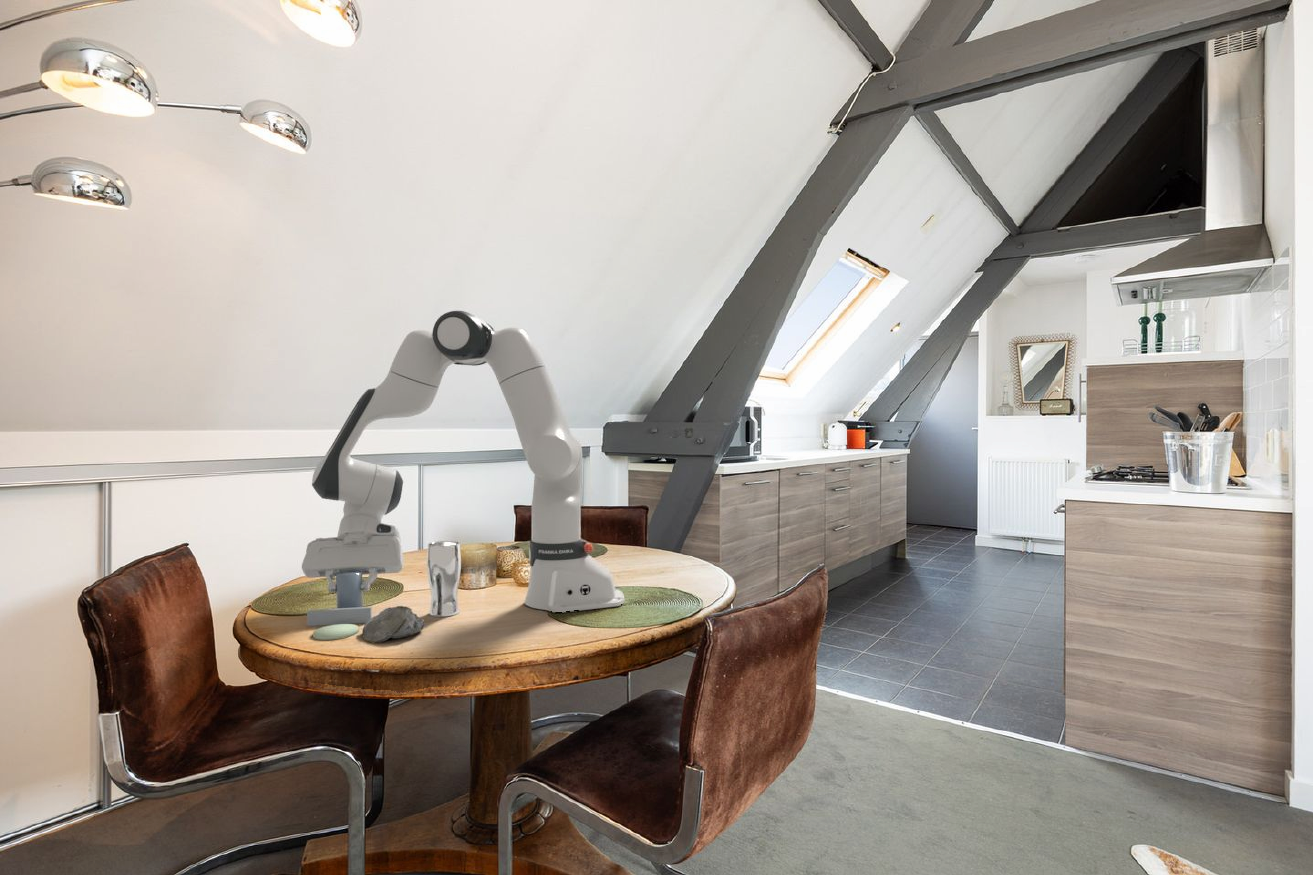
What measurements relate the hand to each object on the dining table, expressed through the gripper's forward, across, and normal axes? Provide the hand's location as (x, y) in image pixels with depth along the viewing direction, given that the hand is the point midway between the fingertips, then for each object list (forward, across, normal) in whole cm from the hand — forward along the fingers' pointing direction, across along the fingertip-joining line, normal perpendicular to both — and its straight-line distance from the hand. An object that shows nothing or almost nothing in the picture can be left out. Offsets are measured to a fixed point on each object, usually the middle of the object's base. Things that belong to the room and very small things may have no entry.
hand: (348, 590), depth 140 cm
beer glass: (+6, +20, +2) cm, 21 cm away
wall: (+8, 0, 0) cm, 8 cm away
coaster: (+12, +1, -5) cm, 13 cm away
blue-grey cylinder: (+3, 0, +4) cm, 4 cm away
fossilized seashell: (+15, +12, -7) cm, 20 cm away
